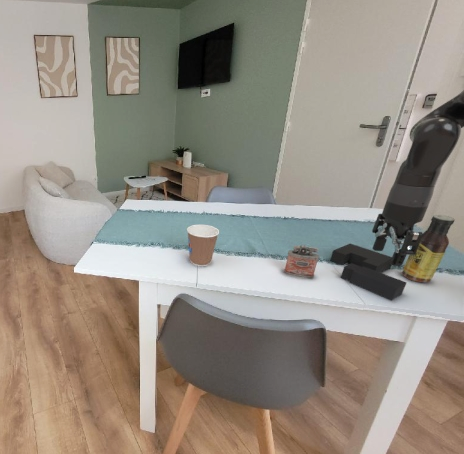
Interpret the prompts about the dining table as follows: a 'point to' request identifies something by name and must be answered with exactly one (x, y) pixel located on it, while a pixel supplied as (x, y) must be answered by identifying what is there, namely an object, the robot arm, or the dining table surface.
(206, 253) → the coffee cup
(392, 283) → the pad
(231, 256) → the dining table surface
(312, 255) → the lighter
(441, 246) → the sauce bottle
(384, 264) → the notch pad
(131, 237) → the dining table surface
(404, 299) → the dining table surface
